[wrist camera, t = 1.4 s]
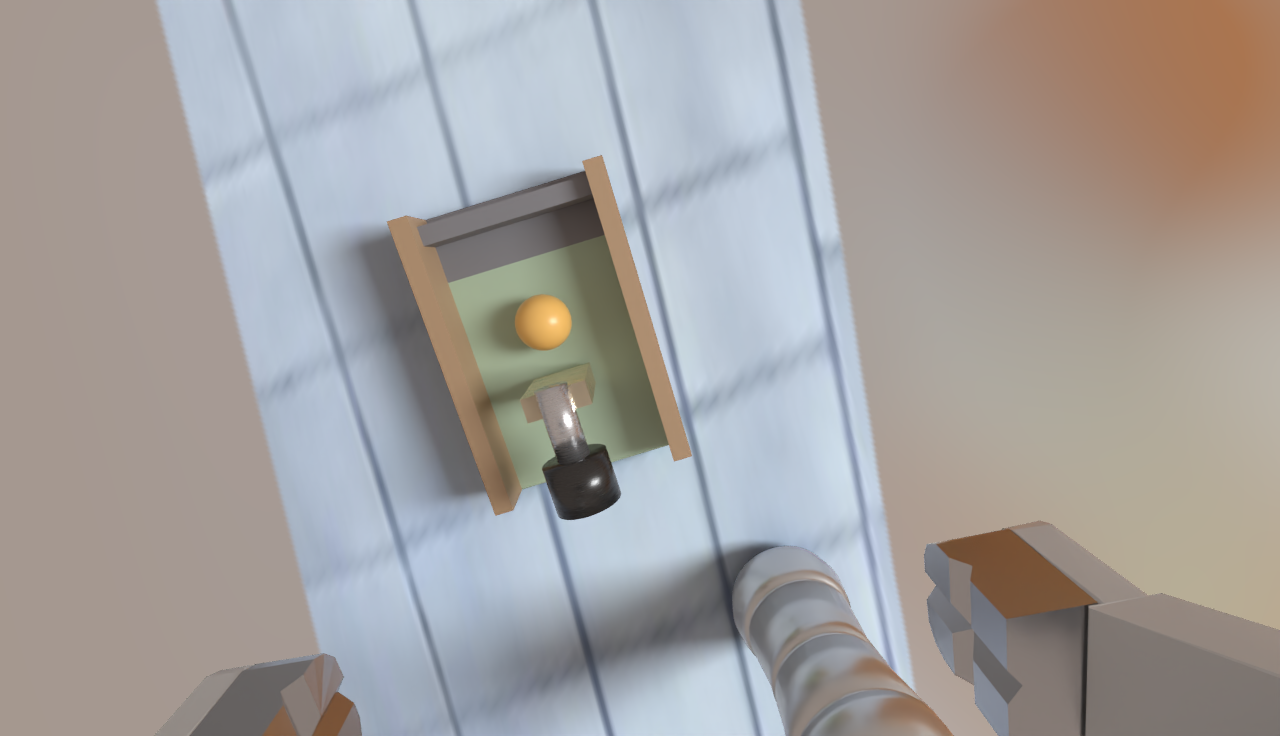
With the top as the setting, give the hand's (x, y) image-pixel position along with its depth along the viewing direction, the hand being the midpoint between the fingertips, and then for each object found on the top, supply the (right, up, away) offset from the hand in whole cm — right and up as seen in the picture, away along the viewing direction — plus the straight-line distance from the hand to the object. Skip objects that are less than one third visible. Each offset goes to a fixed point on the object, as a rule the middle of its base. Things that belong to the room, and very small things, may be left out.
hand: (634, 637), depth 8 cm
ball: (-5, +6, +24) cm, 25 cm away
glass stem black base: (-3, +1, +25) cm, 26 cm away
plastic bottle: (+9, -10, +30) cm, 32 cm away
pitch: (-5, +6, +26) cm, 27 cm away
